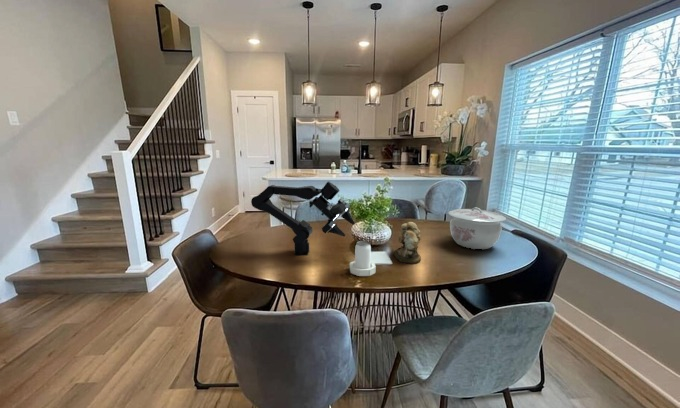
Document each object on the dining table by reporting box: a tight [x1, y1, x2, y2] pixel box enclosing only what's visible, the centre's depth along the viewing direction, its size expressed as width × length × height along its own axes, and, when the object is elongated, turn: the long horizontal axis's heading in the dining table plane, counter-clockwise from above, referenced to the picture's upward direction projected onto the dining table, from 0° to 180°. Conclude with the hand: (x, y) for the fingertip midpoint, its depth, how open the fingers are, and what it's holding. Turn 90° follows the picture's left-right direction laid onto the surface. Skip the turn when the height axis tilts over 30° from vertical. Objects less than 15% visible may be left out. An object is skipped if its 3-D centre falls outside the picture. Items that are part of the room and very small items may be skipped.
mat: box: [371, 251, 393, 266], centre depth 133 cm, size 14×14×1 cm
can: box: [354, 240, 372, 269], centre depth 119 cm, size 6×6×12 cm
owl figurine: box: [393, 221, 422, 265], centre depth 134 cm, size 18×12×17 cm, turn 6°
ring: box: [349, 260, 377, 277], centre depth 120 cm, size 10×10×2 cm
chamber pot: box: [447, 206, 507, 250], centre depth 151 cm, size 28×28×21 cm
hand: (349, 229), depth 133 cm, fingers open, 9 cm apart
